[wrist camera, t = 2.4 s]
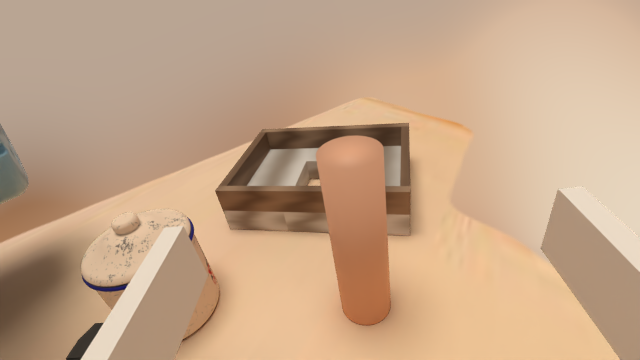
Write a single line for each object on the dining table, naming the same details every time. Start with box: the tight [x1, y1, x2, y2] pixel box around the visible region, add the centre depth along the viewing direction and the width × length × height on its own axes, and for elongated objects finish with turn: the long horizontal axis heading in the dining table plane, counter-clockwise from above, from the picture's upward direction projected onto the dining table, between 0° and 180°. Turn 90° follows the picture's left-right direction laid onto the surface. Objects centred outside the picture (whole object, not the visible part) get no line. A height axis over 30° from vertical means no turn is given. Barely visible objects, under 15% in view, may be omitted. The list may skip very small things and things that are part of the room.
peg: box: [316, 135, 390, 325], centre depth 26 cm, size 4×4×16 cm
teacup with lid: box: [81, 209, 219, 339], centre depth 31 cm, size 12×9×12 cm
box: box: [215, 123, 410, 236], centre depth 44 cm, size 22×16×6 cm
